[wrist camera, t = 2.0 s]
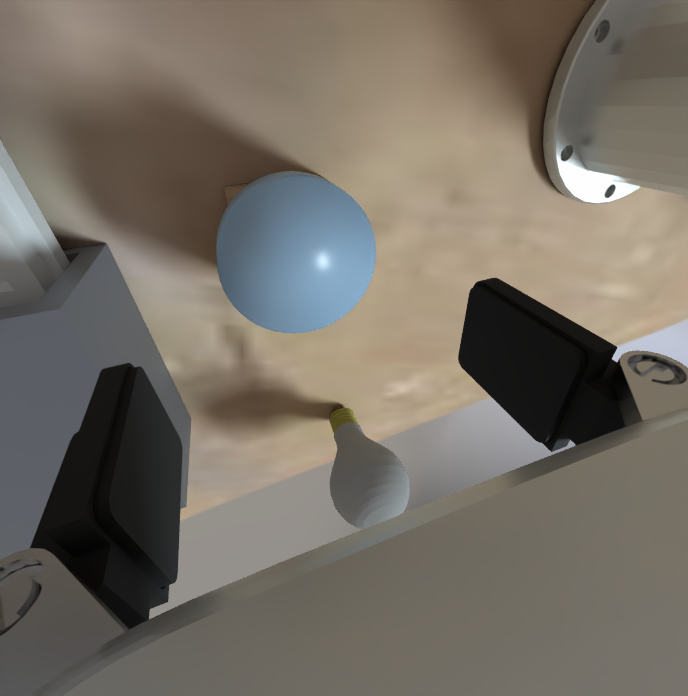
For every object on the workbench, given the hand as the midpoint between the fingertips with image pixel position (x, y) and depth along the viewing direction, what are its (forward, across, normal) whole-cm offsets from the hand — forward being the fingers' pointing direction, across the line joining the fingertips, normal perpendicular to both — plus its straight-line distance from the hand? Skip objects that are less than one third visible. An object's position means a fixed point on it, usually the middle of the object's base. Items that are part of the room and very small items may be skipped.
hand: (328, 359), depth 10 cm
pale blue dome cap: (+8, -1, 0) cm, 8 cm away
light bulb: (+12, -3, +16) cm, 20 cm away
